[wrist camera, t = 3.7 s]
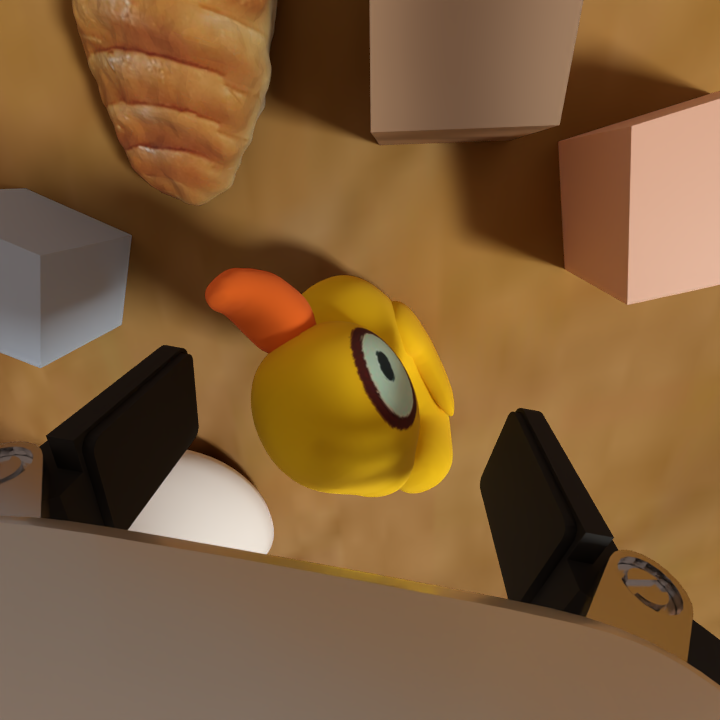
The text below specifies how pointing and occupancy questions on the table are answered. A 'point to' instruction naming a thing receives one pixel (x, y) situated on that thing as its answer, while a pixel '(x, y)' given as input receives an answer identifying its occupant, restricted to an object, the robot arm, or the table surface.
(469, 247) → the table surface
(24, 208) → the block slate
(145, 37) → the pastry
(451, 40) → the block walnut
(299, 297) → the duckling
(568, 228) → the block terracotta
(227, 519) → the flower in vase
